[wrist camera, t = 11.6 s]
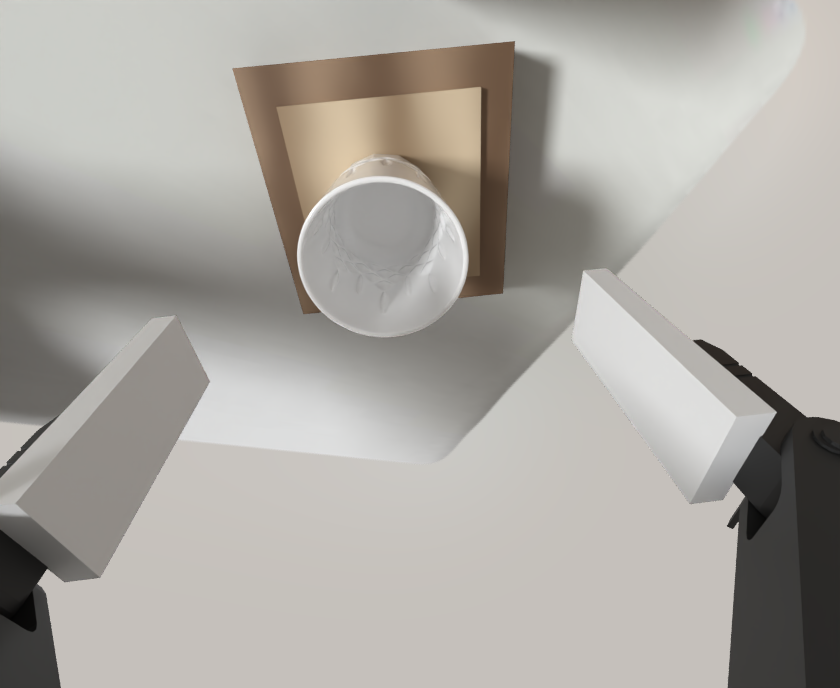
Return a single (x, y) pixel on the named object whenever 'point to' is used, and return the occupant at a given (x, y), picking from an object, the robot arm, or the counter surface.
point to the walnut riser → (390, 137)
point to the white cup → (383, 249)
